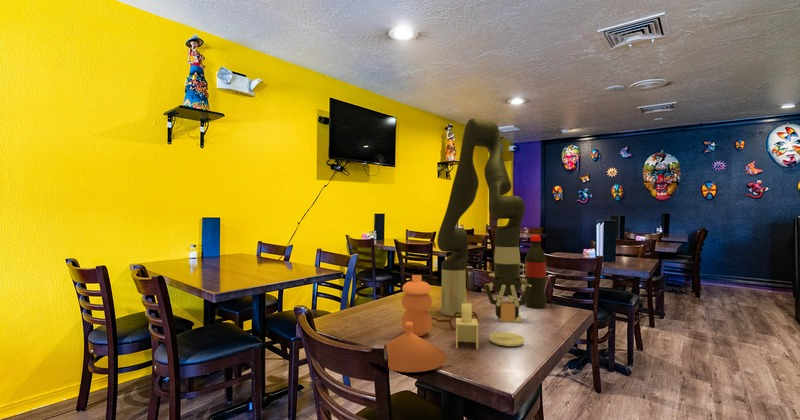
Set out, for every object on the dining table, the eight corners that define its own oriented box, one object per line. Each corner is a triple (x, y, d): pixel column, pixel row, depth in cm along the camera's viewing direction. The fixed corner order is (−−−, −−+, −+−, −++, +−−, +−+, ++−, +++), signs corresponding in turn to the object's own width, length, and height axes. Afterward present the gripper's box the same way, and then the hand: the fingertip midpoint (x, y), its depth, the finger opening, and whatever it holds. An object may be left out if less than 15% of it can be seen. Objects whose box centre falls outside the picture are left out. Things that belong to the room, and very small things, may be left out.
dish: (491, 347, 110) (491, 342, 110) (488, 336, 120) (488, 331, 120) (526, 349, 109) (526, 343, 109) (520, 337, 119) (520, 333, 119)
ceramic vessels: (446, 374, 92) (446, 296, 92) (361, 369, 95) (362, 293, 95) (449, 330, 126) (449, 274, 126) (387, 327, 129) (387, 272, 130)
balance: (489, 321, 137) (489, 254, 137) (488, 317, 142) (488, 252, 143) (532, 323, 135) (532, 255, 135) (529, 319, 140) (529, 253, 141)
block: (501, 320, 113) (501, 303, 113) (499, 317, 117) (499, 300, 117) (515, 321, 112) (514, 304, 112) (512, 317, 116) (512, 301, 116)
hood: (456, 348, 110) (456, 306, 110) (456, 340, 116) (456, 301, 116) (477, 349, 109) (478, 307, 109) (476, 342, 115) (476, 302, 115)
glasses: (451, 332, 126) (451, 317, 126) (426, 322, 136) (426, 309, 136) (478, 325, 133) (478, 311, 133) (452, 317, 144) (452, 304, 144)
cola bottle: (543, 305, 162) (543, 235, 163) (549, 310, 154) (548, 236, 154) (522, 304, 163) (522, 234, 163) (527, 309, 155) (527, 235, 155)
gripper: (484, 262, 112) (484, 320, 112) (533, 263, 110) (534, 322, 110) (482, 259, 120) (482, 314, 119) (528, 260, 118) (529, 316, 117)
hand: (507, 318), depth 115 cm, fingers closed on block, 4 cm apart
